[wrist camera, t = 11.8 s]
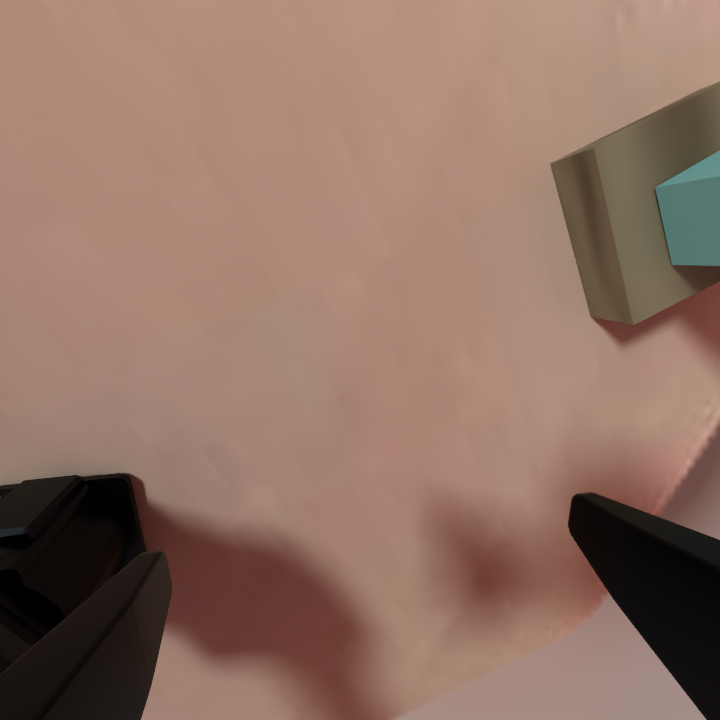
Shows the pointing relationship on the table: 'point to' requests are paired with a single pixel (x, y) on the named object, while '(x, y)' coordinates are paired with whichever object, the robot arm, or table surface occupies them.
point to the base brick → (635, 208)
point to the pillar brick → (693, 213)
